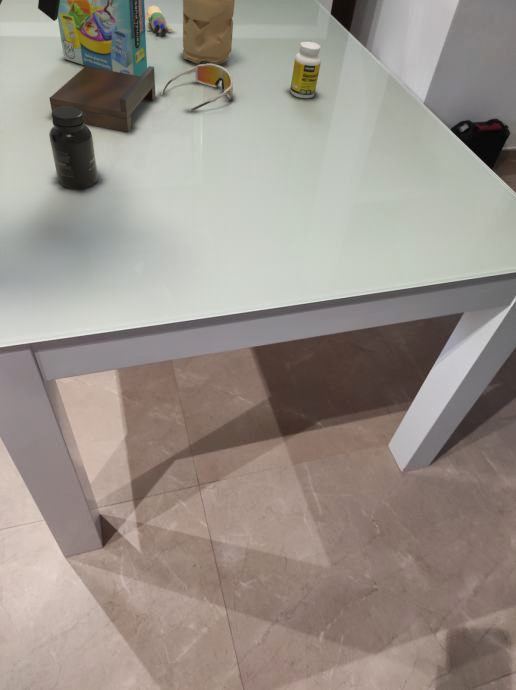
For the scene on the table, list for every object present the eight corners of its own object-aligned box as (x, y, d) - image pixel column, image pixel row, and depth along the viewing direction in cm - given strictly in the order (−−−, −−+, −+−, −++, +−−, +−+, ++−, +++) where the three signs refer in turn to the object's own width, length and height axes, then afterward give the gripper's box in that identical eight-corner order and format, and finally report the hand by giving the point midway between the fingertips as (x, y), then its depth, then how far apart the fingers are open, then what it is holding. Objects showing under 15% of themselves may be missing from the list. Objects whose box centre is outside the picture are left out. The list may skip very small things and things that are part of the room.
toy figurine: (170, 44, 145) (162, 26, 151) (177, 28, 142) (168, 11, 149) (143, 30, 140) (136, 12, 147) (150, 14, 137) (142, -4, 144)
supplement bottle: (104, 185, 91) (95, 118, 82) (66, 193, 88) (53, 125, 79) (89, 166, 94) (79, 100, 86) (52, 174, 91) (38, 106, 83)
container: (175, 61, 132) (174, -22, 118) (192, 46, 140) (193, -34, 127) (222, 72, 130) (226, -12, 117) (236, 56, 139) (242, -24, 125)
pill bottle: (299, 100, 124) (307, 51, 116) (285, 90, 127) (291, 41, 119) (319, 97, 126) (328, 48, 118) (305, 87, 130) (313, 39, 121)
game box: (63, 60, 125) (39, -83, 105) (79, 52, 129) (60, -86, 109) (133, 83, 120) (123, -61, 100) (149, 74, 124) (142, -66, 104)
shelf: (52, 117, 105) (46, 85, 100) (87, 84, 117) (83, 53, 112) (128, 132, 105) (125, 100, 100) (155, 97, 117) (154, 67, 112)
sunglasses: (244, 99, 121) (244, 77, 117) (196, 123, 114) (194, 102, 110) (204, 77, 126) (202, 56, 122) (156, 100, 120) (153, 78, 116)
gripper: (-17, -66, 48) (-18, 97, 66) (123, -138, 61) (91, 15, 79) (-92, -126, 47) (-72, 57, 64) (68, -187, 60) (48, -20, 77)
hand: (18, 34), depth 72 cm, fingers open, 13 cm apart
